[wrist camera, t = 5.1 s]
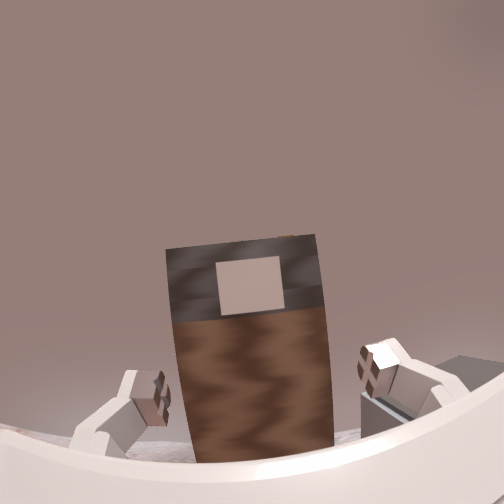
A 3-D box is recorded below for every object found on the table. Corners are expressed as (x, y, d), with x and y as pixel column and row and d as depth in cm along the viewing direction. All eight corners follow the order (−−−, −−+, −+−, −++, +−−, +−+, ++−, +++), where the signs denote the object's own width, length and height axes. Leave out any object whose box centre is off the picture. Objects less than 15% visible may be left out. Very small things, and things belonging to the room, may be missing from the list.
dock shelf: (417, 574, 6) (466, 455, 8) (358, 493, 22) (360, 389, 24) (525, 495, 7) (564, 367, 9) (449, 453, 23) (459, 353, 25)
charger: (221, 315, 16) (215, 262, 16) (228, 295, 32) (225, 268, 32) (284, 308, 16) (278, 255, 16) (260, 291, 32) (257, 265, 33)
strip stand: (212, 517, 21) (165, 245, 26) (216, 475, 31) (184, 260, 36) (334, 500, 22) (314, 229, 27) (314, 462, 31) (294, 248, 36)
